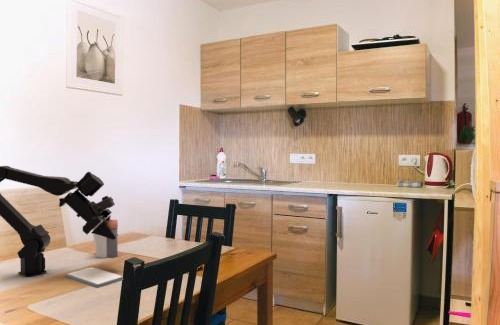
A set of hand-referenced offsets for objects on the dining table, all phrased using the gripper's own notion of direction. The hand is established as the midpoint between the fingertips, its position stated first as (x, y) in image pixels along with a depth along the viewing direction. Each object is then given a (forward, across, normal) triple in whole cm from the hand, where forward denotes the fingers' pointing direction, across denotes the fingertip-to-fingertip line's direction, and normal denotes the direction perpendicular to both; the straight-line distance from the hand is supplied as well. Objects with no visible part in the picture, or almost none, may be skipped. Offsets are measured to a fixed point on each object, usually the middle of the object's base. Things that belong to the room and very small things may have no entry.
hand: (116, 237), depth 138 cm
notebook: (+4, -7, +12) cm, 15 cm away
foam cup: (+2, +21, +14) cm, 25 cm away
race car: (+25, -4, -8) cm, 27 cm away
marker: (+4, 0, +6) cm, 7 cm away
